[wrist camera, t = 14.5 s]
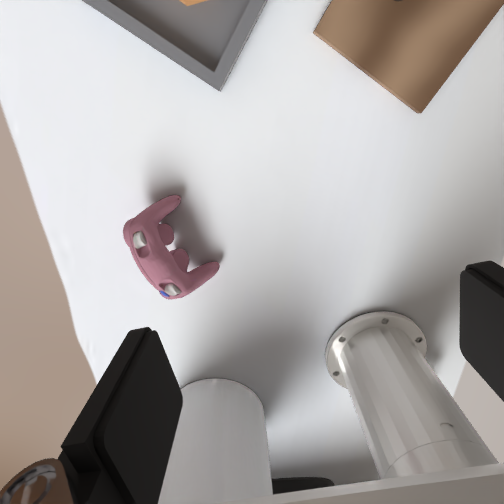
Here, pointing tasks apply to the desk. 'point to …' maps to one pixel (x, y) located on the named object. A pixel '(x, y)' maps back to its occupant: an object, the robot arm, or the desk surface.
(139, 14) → the tray
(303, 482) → the portable electronic device stand
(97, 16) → the desk surface
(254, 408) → the utensil holder
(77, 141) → the desk surface
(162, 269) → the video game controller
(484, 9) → the base
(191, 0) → the collar
